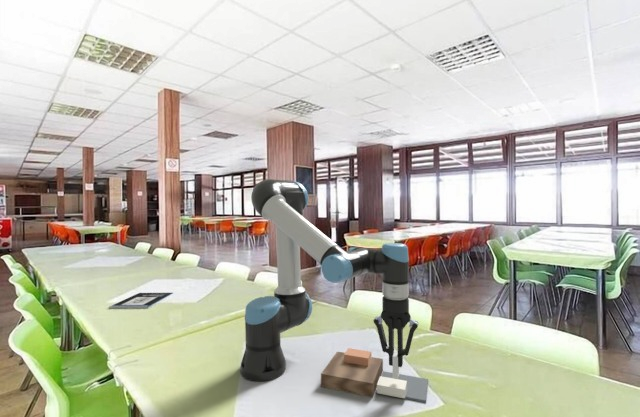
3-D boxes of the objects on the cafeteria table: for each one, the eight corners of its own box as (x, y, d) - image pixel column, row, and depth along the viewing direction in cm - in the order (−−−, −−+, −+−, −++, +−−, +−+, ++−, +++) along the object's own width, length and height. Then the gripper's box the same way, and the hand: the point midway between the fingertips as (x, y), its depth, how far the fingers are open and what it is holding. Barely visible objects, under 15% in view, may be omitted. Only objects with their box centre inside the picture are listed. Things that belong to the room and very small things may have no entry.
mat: (376, 392, 97) (376, 390, 97) (383, 373, 108) (383, 371, 108) (426, 402, 92) (426, 400, 92) (428, 380, 103) (428, 379, 103)
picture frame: (173, 294, 208) (173, 291, 208) (147, 310, 178) (147, 306, 178) (139, 294, 208) (139, 291, 208) (108, 310, 178) (107, 306, 178)
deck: (321, 386, 101) (321, 373, 101) (337, 362, 116) (337, 351, 116) (372, 397, 95) (372, 383, 95) (382, 370, 110) (382, 358, 110)
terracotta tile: (344, 362, 108) (344, 354, 108) (348, 355, 113) (348, 348, 113) (368, 366, 105) (368, 358, 105) (371, 359, 110) (371, 351, 110)
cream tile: (376, 393, 96) (376, 384, 96) (380, 384, 101) (380, 376, 101) (405, 398, 93) (405, 389, 93) (406, 389, 98) (406, 380, 98)
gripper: (370, 297, 95) (371, 378, 95) (417, 302, 90) (418, 387, 91) (375, 291, 102) (376, 366, 102) (419, 295, 97) (419, 374, 98)
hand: (395, 376), depth 97 cm, fingers closed
